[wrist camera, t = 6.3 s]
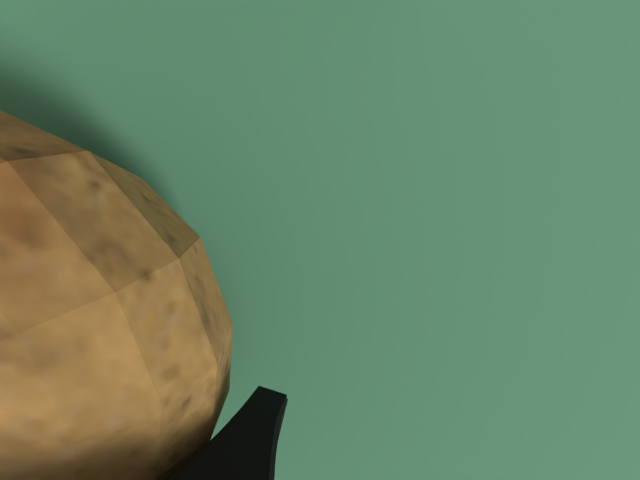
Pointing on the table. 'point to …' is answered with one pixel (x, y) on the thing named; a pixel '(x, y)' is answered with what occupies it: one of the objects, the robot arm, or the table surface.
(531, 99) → the green mat
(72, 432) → the potato
